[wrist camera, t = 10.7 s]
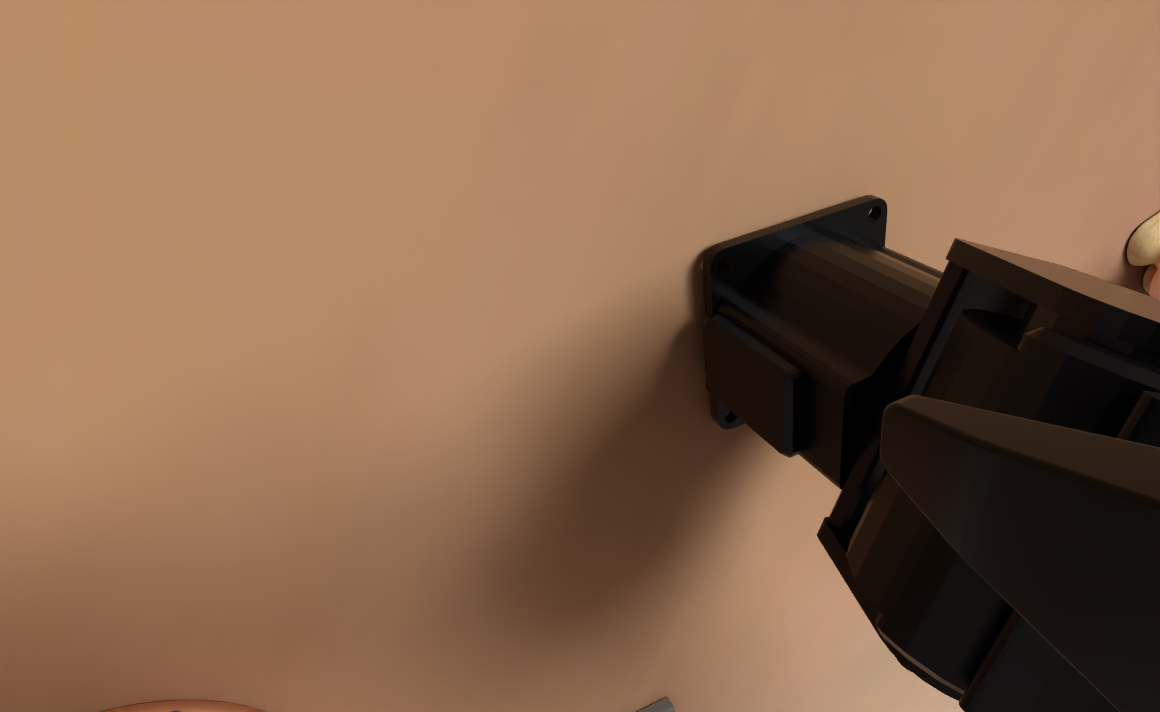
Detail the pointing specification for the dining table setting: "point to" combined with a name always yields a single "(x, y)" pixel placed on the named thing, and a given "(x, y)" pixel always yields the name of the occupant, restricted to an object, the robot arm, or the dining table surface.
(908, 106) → the dining table surface
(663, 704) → the mat
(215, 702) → the bowl
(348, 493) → the dining table surface
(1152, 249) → the grandmother figurine
